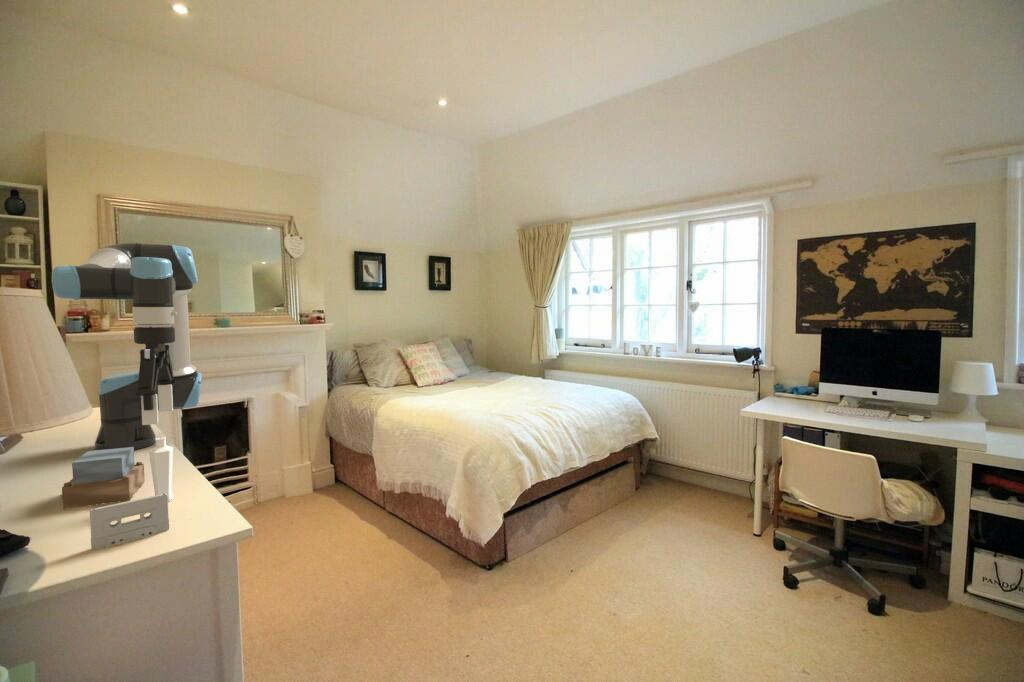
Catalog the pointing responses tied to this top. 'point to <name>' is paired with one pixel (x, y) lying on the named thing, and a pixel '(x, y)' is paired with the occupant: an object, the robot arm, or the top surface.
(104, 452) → the blue block on board
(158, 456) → the perfume bottle
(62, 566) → the top surface
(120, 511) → the cassette
